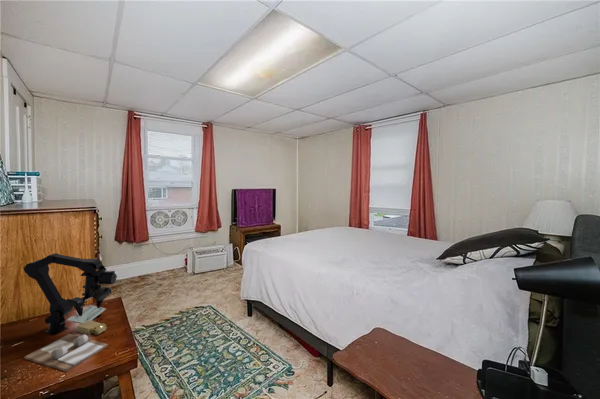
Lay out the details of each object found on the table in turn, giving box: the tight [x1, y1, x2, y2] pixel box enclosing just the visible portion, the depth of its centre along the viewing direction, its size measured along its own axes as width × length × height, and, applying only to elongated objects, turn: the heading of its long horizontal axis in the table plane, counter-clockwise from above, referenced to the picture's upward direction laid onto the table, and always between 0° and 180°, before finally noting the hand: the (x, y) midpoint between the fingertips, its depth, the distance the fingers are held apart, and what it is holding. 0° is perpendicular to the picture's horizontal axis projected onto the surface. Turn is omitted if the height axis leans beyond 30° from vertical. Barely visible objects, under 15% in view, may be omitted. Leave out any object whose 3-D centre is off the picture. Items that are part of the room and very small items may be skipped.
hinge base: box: [23, 333, 109, 372], centre depth 116 cm, size 24×18×5 cm
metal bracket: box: [66, 304, 107, 324], centre depth 145 cm, size 14×6×15 cm
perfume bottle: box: [76, 320, 108, 336], centre depth 133 cm, size 13×6×4 cm, turn 78°
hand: (89, 311), depth 133 cm, fingers open, 9 cm apart
